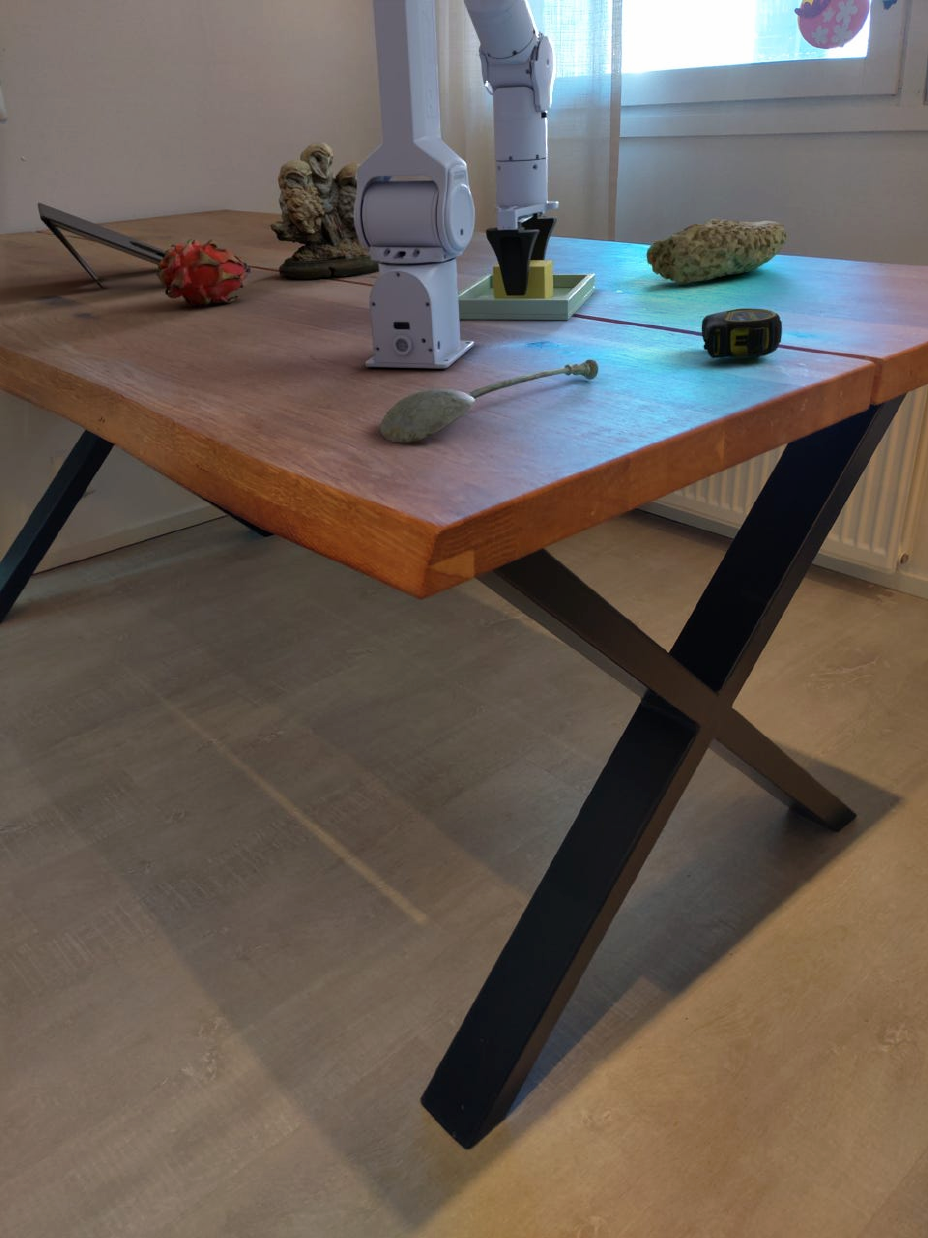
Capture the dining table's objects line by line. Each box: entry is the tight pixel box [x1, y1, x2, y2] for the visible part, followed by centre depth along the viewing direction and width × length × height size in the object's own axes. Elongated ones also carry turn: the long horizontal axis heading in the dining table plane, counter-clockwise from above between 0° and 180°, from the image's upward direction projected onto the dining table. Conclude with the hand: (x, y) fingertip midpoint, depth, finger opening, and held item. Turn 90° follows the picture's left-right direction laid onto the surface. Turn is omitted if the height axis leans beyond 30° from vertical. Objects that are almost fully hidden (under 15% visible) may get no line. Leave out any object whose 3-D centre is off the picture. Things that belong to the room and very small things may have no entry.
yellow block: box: [492, 259, 554, 299], centre depth 116 cm, size 4×6×4 cm
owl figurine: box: [269, 141, 379, 280], centre depth 142 cm, size 18×12×17 cm, turn 125°
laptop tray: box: [37, 202, 166, 289], centre depth 146 cm, size 23×23×9 cm
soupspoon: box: [379, 359, 599, 444], centre depth 79 cm, size 22×3×7 cm
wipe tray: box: [458, 273, 596, 321], centre depth 116 cm, size 17×14×2 cm
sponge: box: [646, 218, 787, 285], centre depth 126 cm, size 13×8×20 cm
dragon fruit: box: [156, 238, 251, 308], centre depth 126 cm, size 8×8×12 cm
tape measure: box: [701, 307, 783, 359], centre depth 89 cm, size 7×7×4 cm
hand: (523, 288), depth 116 cm, fingers open, 7 cm apart
